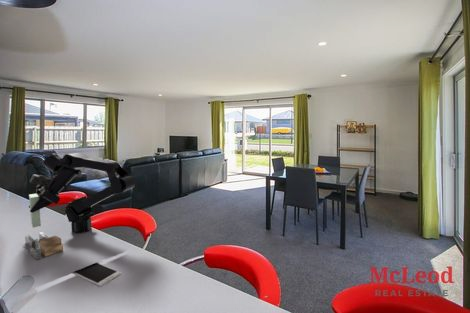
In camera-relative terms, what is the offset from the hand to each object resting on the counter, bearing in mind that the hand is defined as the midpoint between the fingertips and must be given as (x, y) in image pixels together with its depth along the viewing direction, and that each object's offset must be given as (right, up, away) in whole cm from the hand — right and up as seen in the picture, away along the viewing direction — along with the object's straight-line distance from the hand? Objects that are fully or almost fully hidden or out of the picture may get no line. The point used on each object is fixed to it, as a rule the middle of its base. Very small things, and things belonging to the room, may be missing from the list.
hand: (30, 209), depth 96 cm
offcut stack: (+15, -13, -8) cm, 22 cm away
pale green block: (+1, -6, +2) cm, 7 cm away
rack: (+10, -14, -6) cm, 18 cm away
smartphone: (+37, -16, -19) cm, 44 cm away
